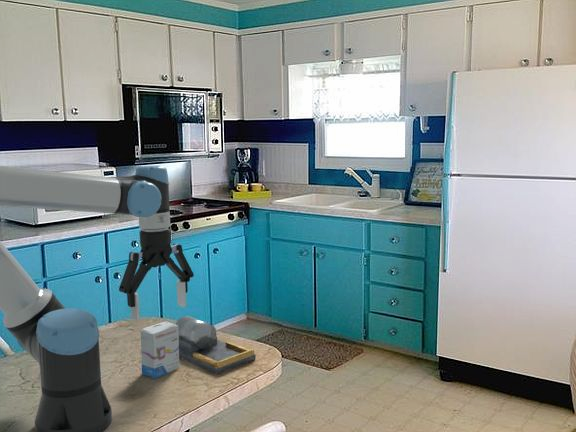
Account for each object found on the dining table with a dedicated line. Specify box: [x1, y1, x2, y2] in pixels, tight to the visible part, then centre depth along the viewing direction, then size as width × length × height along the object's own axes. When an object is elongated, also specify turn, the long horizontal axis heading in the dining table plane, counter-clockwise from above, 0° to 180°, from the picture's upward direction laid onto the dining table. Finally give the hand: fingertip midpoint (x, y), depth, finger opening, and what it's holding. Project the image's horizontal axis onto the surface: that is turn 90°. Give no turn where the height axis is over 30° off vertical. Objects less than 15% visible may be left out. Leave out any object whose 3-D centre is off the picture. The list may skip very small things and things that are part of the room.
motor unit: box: [175, 315, 257, 375], centre depth 161 cm, size 13×24×8 cm, turn 46°
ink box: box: [140, 321, 180, 380], centre depth 150 cm, size 9×5×12 cm, turn 143°
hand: (159, 312), depth 149 cm, fingers open, 13 cm apart
